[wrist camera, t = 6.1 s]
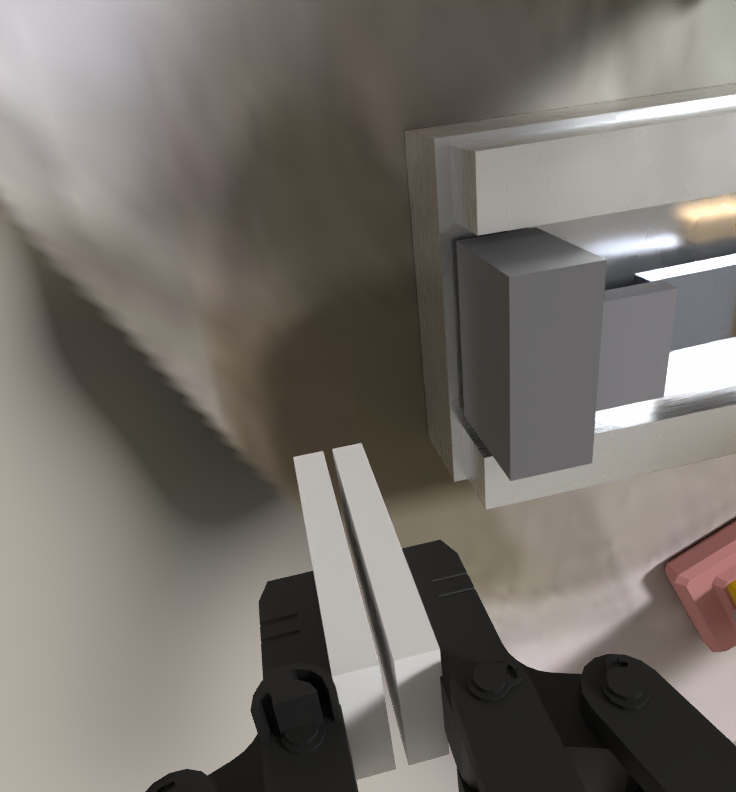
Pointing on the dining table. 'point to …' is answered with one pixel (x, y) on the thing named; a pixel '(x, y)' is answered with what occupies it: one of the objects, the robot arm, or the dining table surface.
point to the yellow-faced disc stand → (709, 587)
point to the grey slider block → (553, 347)
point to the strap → (700, 299)
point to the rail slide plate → (590, 230)
